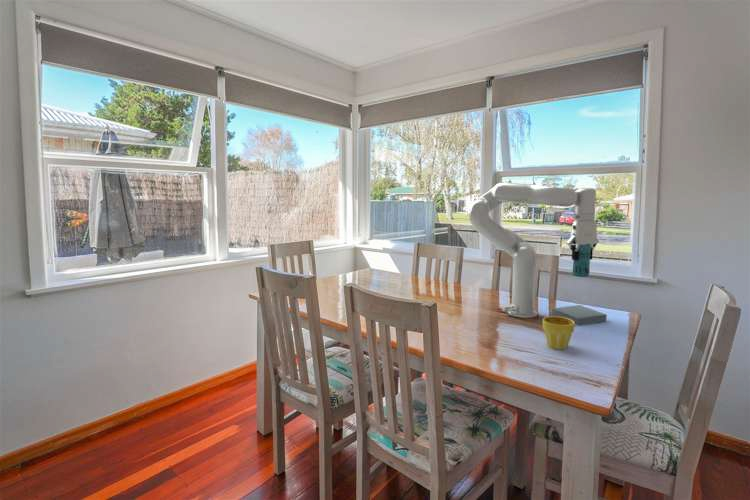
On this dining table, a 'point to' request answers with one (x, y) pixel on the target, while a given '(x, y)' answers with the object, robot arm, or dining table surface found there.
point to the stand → (580, 314)
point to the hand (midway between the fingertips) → (581, 259)
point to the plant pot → (558, 331)
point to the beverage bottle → (582, 261)
